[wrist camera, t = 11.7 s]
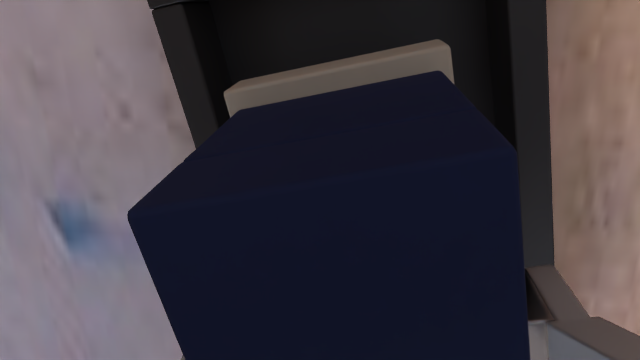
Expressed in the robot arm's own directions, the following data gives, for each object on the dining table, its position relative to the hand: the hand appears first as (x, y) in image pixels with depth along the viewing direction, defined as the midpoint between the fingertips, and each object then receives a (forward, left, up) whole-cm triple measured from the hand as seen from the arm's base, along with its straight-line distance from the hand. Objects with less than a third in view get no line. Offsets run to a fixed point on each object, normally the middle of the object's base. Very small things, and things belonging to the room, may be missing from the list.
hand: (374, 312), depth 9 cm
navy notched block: (0, 0, -2) cm, 2 cm away
